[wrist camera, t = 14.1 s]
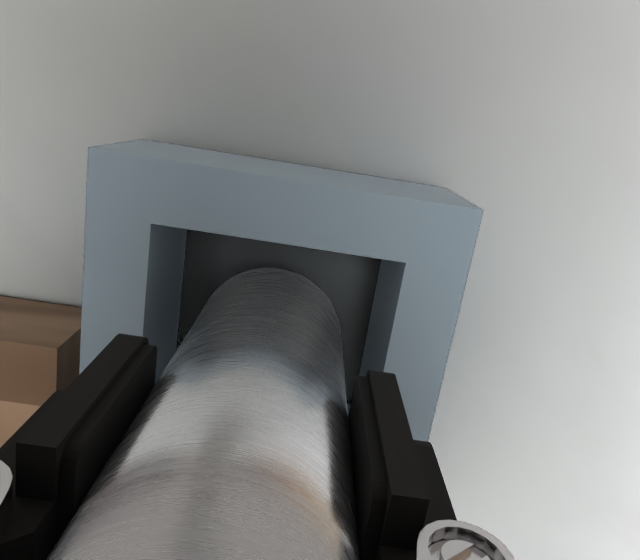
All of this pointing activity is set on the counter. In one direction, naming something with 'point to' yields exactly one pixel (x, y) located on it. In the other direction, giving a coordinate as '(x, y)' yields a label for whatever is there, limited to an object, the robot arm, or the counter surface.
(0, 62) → the counter surface
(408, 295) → the blue-grey square frame
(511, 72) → the counter surface
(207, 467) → the grey smooth thick cylinder
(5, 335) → the socket block
